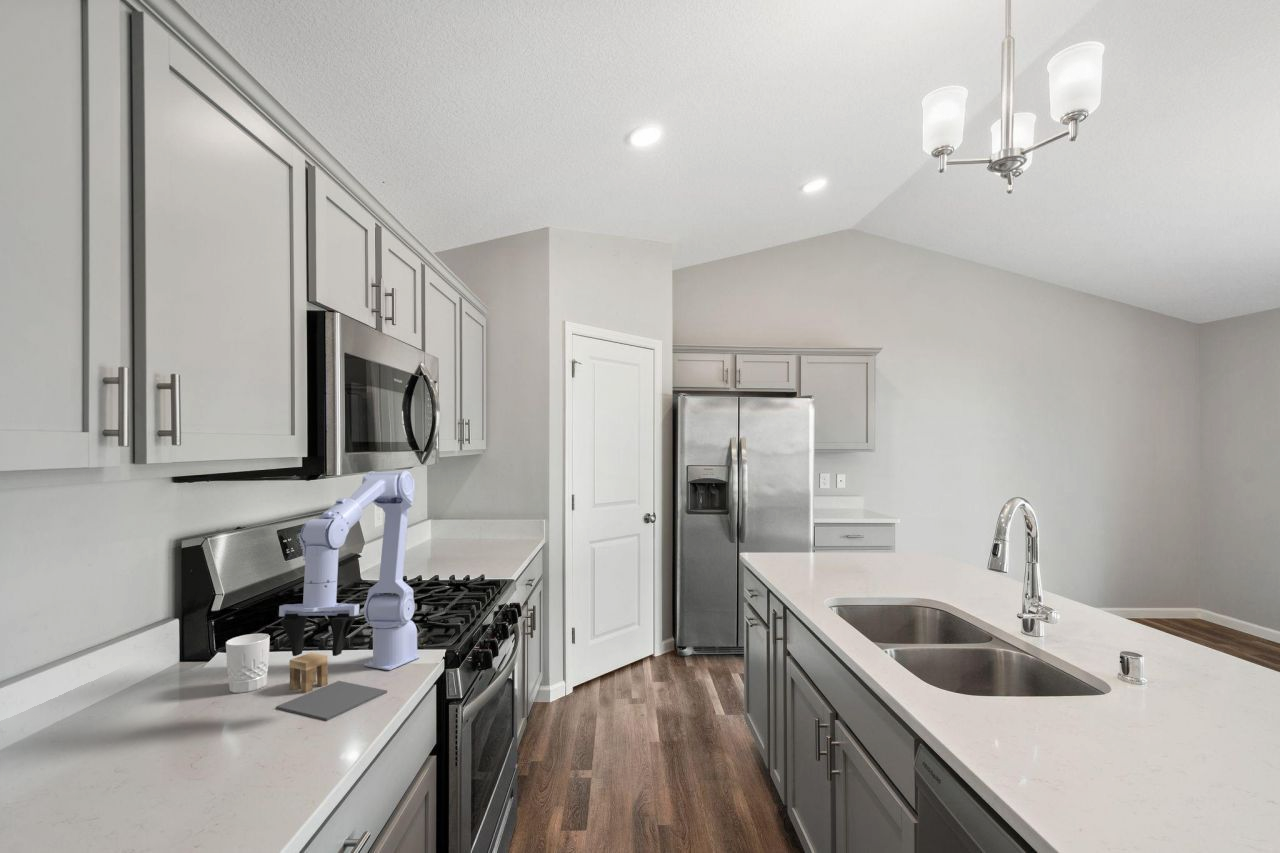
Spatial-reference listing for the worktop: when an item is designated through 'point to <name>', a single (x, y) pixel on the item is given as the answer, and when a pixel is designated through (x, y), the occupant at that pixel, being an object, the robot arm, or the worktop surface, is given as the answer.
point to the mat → (331, 700)
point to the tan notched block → (308, 671)
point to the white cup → (247, 662)
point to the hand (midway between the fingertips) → (317, 654)
